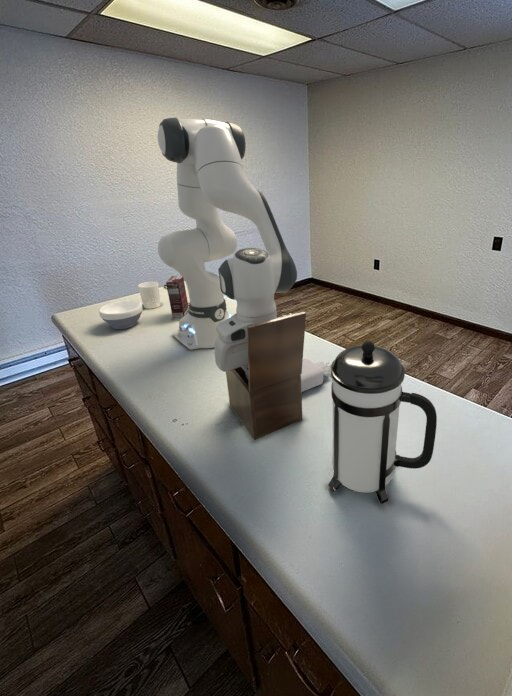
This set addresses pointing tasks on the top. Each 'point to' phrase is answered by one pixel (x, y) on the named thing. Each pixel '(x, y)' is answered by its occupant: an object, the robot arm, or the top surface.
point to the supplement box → (177, 297)
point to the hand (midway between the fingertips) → (261, 374)
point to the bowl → (121, 313)
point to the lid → (275, 350)
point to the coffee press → (371, 419)
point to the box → (264, 403)
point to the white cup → (150, 294)
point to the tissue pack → (312, 374)
